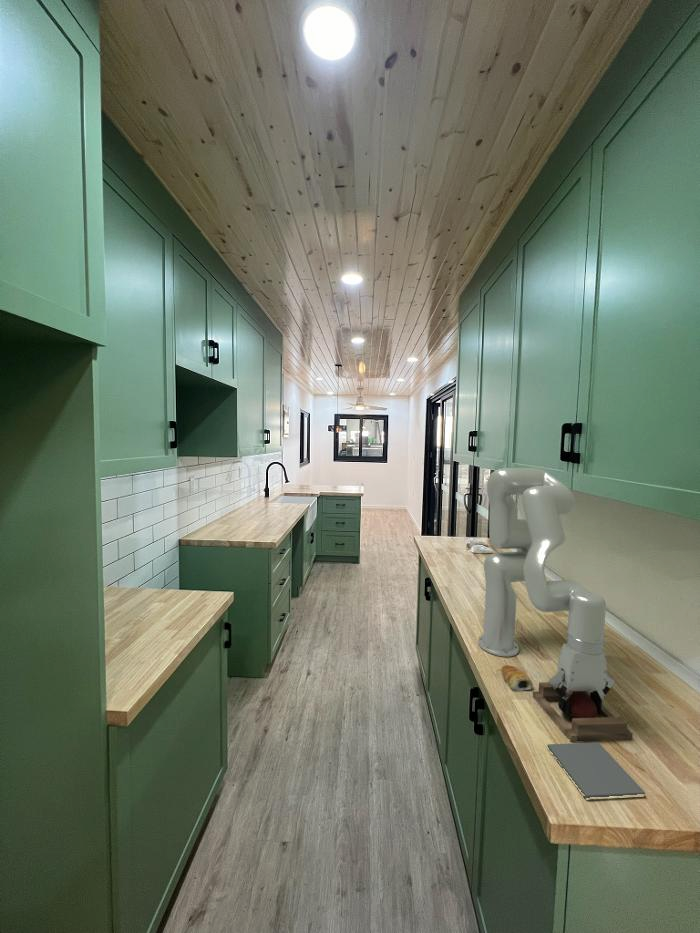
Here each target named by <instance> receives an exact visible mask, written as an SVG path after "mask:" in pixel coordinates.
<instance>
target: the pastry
mask: <svg viewBox="0 0 700 933" xmlns="http://www.w3.org/2000/svg"><path fill="white" fill-rule="evenodd" d="M500 671H501V675H502V677H503V680H504V681H505V682H507V683H506V684H507V686H508V687H509V688H510V689H511V690H512V691H513V692H514V691H515V690H516V691H515V692H522V691H523V692H524V691H529V690H531V689H532V688H533V686H534V685H533V682H532V680H531V679H530V677H529V676H528V674H526V673H525V672H524V670H520V669H519V668H518V667H515V666H513V665H506V664H505V665H504V664H503V666H502V667H501V669H500Z"/></svg>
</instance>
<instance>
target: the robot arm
mask: <svg viewBox="0 0 700 933" xmlns="http://www.w3.org/2000/svg"><path fill="white" fill-rule="evenodd" d="M486 493H487V498H488V503H489V520H488V521H489V522H488V523H489V526H488V530H489V532H488V534H489V542H490V544H491V546H493V547H494V548H496V549H499V550H500V549H501V550H509V549H510V550H512V549H513V550H514V549H516V551H505V552H504V551H501V552H500V551H499V552H494V553H491V554H489V555H487V556H486V557H485V559H484V561H483V571H484V578H485V579H484V580H485V594H484V597H485V598H484V599H485V600H484V613H483V614H484V615H483V616H484V617H483V624H482V628H483V633H482V635H480V636H479V637H478V638H477V639H478V640H477V643H478V646H479V647H480V648H481V649H482V650H484V651H485V652H487V653H489V654H491V655H494V656H498V657H503V658H504V657H505V658H507V657H508V658H509V657H510V658H511V657H514V656H517V654H519V652H520V647H519V645H518V643H517V642H516V641H515V630H516V615H517V614H516V612H517V594H516V591H515V590H514V587H512V583H516V582H518V583H519V582H525V583H524V584H525V587H526V592H527V595H528V597H529V600H530V603H531V604H532V606H533V607H534V608H535V609H536V610H538V611H540V612H542V613H552V612H568V616H567V627H566V628H567V630H566V631H567V633H566V643H563V644H562V646H561V650H560V653H559V657H558V662H557V668H556V669H557V670H556V674H555V675H553V676H552V677H551V678H549V679H548V682H549V683H550V684H551V686H552V687H553V689H554V690H555V691H556V692H557V693H558V694H559V702H558V708H559V710H560V711H561V712H562V714H564V715H565V717H570V716H571V715H570V700H569V697H570V696H571V694H572V692H573V691H588V692H589V693H590V698H591V699H592V700H593V701H594V703H595V705H596V707H597V716H601V709H602V705H603V700H605V699H606V695H607V694H608V693H609V692H610V690H611V688H612V687H613V686H614V684H615V682H616V681H615V680H614V679H613V678H611V677H610V676H609V675H607V660H606V654H605V651H604V645H605V644H607V639H606V638H605V627H606V626H605V624H606V623H605V622H606V611H607V610H606V609H607V603H606V600H605V598H604V597H603V596H602V595H600V594H598V593H596V592H593V591H589V590H588V589H587V588H585V587H584V586H583V585H582V584H581V583H578V582H577V581H575V580H571V579H563V580H548V581H547V578H546V571H545V563H546V560H547V558H548V556H549V555H550V553H552V552H553V551H554V550H555V549H557V548H558V547H560V546H561V545H563V544H564V543H565V541H566V539H567V538H566V535H565V531H564V527H563V524H562V521H561V517H560V515H567V514H570V513H571V512H572V511H573V510H574V509H575V506H576V504H575V502H576V500H575V497H574V494H573V493H572V491H571V490H570V488H568V486H566V485H565V484H564V483H563V482H561V481H560V480H558V479H557V478H556V477H554V476H553V475H552V474H550V473H549V472H547V471H545V470H543V469H541V468H534V467H533V468H532V467H530V468H529V467H528V468H526V467H504V468H499V469H495V470H494V471H492V472H491V474H490V475H489V476H488V479H487V482H486ZM517 495H518V496H519V495H520V496H521V503H522V506H523V507H522V508H523V511H524V515H525V519H523V518H518V514H519V513H518V509H519V508H518V505H517V502H516V501H515V499H514V497H513V496H517ZM560 682H562V683H561V684H560V686H558V684H559V683H560ZM565 688H567V690H566V692H565V693H564V692H563V691H564V690H565Z"/></svg>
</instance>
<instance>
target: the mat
mask: <svg viewBox="0 0 700 933" xmlns="http://www.w3.org/2000/svg"><path fill="white" fill-rule="evenodd" d="M547 747H548V748H549V750H550V751H551V752H552V753H553V755H554V756H555V757H556V758H557V760H558V761H559V762H560V764H561V765H562V767H563V768H564V769H565V771H566V772H567V773H568V775H569V776H570V777H571V778H572V780H573V781H574V782H575V784H576V785H577V786H578V788H579V789H580V790H581V792H582V793H583V794H584V795H585V797H586V798H590V797H609V796H623V795H637V794H645V795H646V791H644V789H643V788H642V787H641V786H640V785H639V784H638V783H637V781H636V780H634V778H632V777H631V775H630V774H629V773H628V772H627V771H626V770H625V769H624V768H623V767H622V766H621V764H619V763H618V762H617V760H616V759H615V758H614V757H613V756H612V755H611V754H610V752H608V750H606V749H605V748H604V746H603V745H602V744H601V743H600V741H592V742H569V743H553V744H552V743H550V744H549V743H548V744H547ZM549 750H548V751H549ZM550 751H549V752H550Z"/></svg>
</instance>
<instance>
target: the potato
mask: <svg viewBox="0 0 700 933" xmlns="http://www.w3.org/2000/svg"><path fill="white" fill-rule="evenodd" d="M565 692H566V691H565ZM565 692H564V693H565ZM569 700H570V715H569V716H571V717H572V718H598V715H597V707H596V705H595V703H594V701H593V700H592V699H591V698H590V696H589V695H588V694H587V693H585V692H584V691H573V692H572V694H571V696H570V697H569Z"/></svg>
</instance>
